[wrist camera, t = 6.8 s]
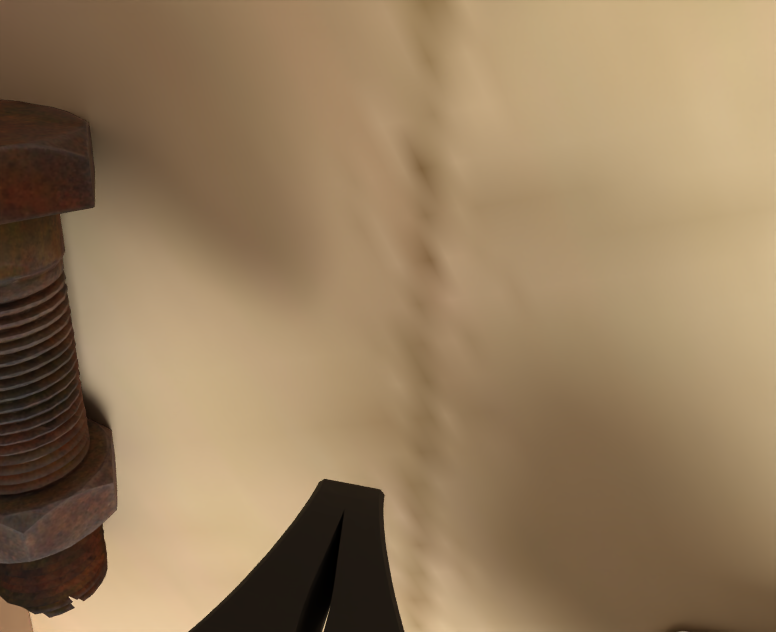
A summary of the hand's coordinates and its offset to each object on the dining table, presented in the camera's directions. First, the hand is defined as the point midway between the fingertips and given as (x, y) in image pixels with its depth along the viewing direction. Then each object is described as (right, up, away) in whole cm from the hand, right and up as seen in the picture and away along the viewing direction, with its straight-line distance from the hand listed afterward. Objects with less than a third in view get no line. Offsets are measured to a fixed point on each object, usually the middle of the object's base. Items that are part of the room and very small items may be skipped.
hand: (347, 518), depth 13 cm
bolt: (-9, +3, +6) cm, 11 cm away
